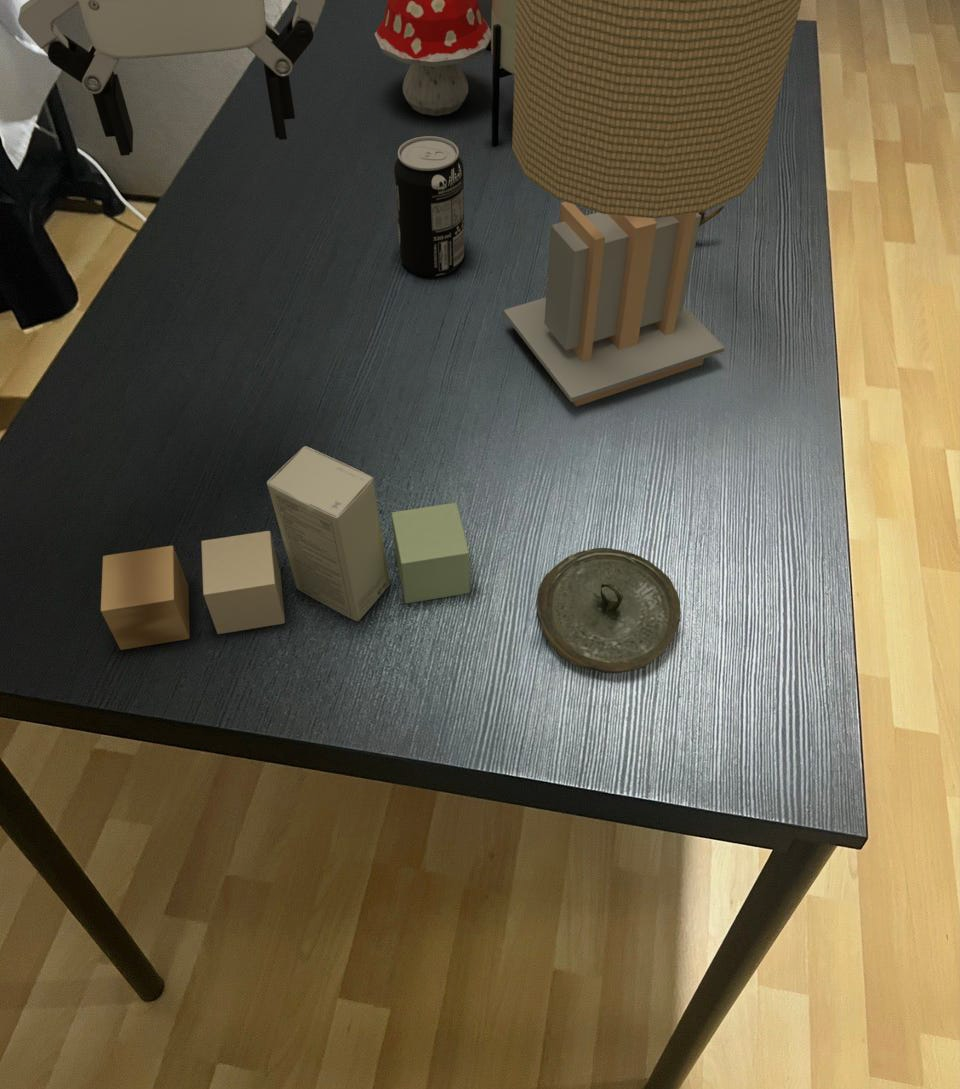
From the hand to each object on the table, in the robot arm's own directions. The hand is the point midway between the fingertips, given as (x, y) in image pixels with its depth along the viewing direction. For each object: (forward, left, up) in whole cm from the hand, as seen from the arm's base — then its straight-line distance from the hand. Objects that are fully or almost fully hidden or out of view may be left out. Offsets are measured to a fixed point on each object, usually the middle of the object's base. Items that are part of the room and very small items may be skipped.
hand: (204, 136), depth 64 cm
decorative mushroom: (+24, +56, -28) cm, 67 cm away
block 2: (-3, -16, -28) cm, 33 cm away
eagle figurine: (+44, +25, -28) cm, 58 cm away
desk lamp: (+32, +7, -28) cm, 43 cm away
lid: (+23, -23, -28) cm, 43 cm away
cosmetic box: (+4, -16, -28) cm, 33 cm away
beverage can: (+18, +24, -28) cm, 41 cm away
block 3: (+11, -16, -28) cm, 34 cm away
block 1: (-10, -16, -28) cm, 34 cm away
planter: (+37, +47, -28) cm, 66 cm away
